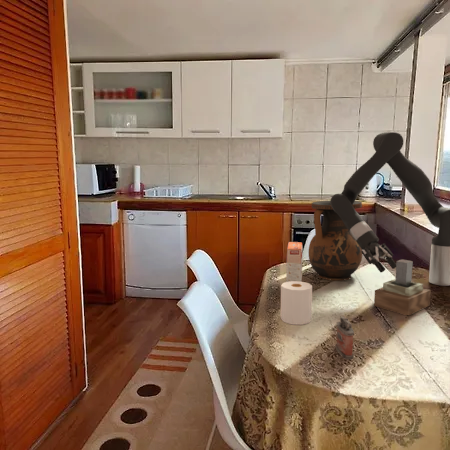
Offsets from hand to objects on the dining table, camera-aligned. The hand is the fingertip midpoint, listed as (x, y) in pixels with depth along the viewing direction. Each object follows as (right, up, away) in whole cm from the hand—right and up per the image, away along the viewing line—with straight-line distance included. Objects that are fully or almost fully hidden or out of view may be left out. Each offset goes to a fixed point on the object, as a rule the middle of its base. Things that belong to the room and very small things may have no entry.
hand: (389, 269), depth 152 cm
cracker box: (-34, -12, +10) cm, 38 cm away
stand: (+4, -13, -2) cm, 14 cm away
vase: (-11, -7, +38) cm, 40 cm away
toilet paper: (-38, -16, -14) cm, 43 cm away
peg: (+4, -7, -3) cm, 9 cm away
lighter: (-29, -19, -38) cm, 52 cm away
